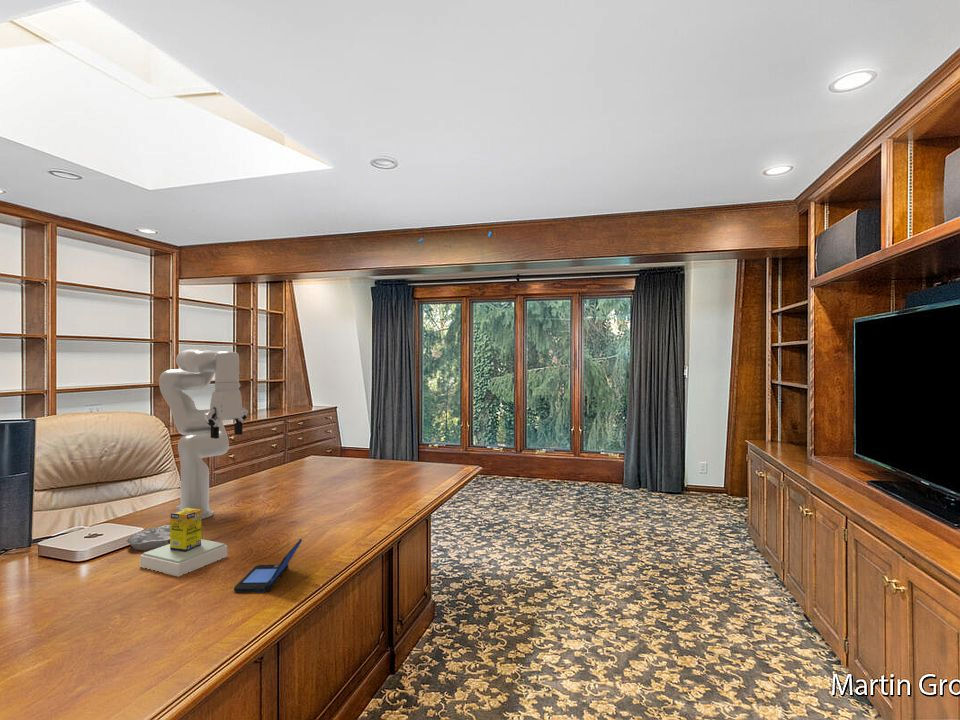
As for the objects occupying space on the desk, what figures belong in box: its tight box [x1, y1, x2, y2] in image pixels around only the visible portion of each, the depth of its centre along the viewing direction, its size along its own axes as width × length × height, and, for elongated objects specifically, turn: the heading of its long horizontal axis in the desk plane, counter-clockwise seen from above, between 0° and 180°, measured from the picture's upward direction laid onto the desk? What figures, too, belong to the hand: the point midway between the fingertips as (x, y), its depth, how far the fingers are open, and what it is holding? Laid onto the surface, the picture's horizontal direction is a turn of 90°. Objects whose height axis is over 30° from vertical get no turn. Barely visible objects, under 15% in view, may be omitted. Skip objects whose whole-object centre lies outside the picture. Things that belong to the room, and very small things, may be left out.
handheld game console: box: [233, 538, 303, 593], centre depth 141 cm, size 16×13×9 cm
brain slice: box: [127, 524, 170, 551], centre depth 171 cm, size 20×17×3 cm
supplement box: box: [169, 508, 202, 552], centre depth 154 cm, size 6×6×11 cm
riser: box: [139, 538, 228, 578], centre depth 153 cm, size 16×16×4 cm
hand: (226, 436), depth 180 cm, fingers open, 9 cm apart
